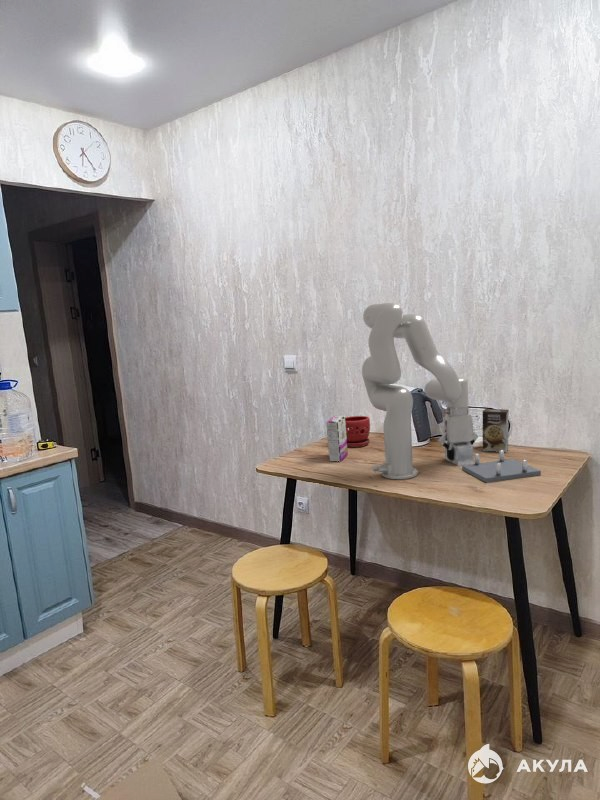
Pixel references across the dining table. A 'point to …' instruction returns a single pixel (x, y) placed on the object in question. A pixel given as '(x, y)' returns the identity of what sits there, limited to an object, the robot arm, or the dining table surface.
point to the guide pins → (498, 465)
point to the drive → (461, 453)
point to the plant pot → (357, 431)
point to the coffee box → (495, 430)
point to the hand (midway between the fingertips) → (458, 458)
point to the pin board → (508, 470)
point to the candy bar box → (337, 438)
